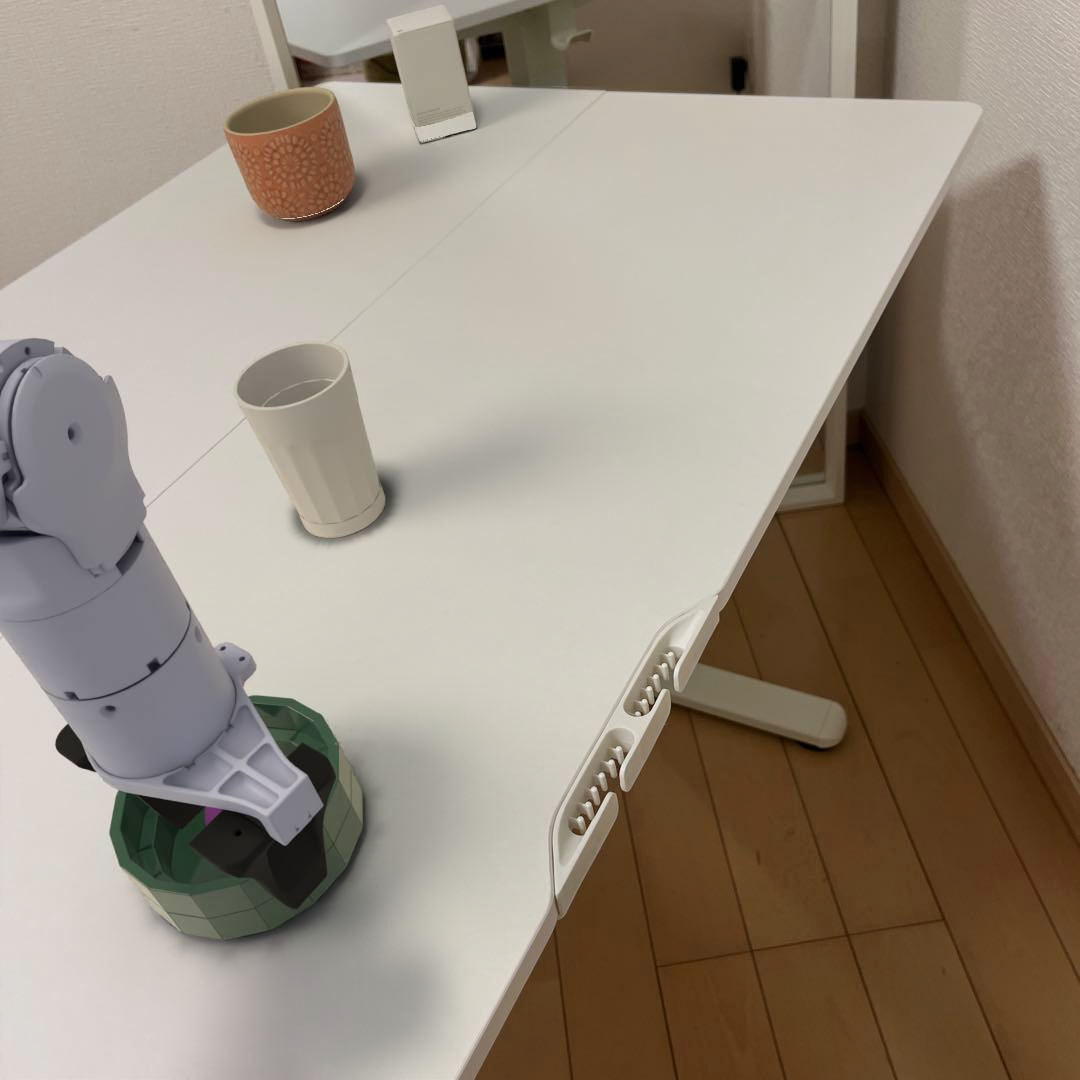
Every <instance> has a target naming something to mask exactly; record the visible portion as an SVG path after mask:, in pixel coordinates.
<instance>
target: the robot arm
mask: <svg viewBox="0 0 1080 1080" xmlns="http://www.w3.org/2000/svg"><path fill="white" fill-rule="evenodd" d="M128 435H129V434H128V423H127V418H126V414H125V409H124V404H123V401H122V398H121V395H120V392H119V390H118V387H117V384H116V382H115V380H114V378H113V376H112V375H110V374H109V375H108V374H107V375H105V376H104V378H103V376H101V375H100V374H99V373H98V372H97V371H96V370H95V369H94V368H93V367H92V366H91V365H90V364H89V363H87V362H86V361H84V360H83V359H81V358H79V357H78V356H76V355H74V354H73V353H72V352H71V351H70V350H69V349H68V348H66V347H64V346H55V341H52V340H49V339H46V338H38V337H30V338H13V339H1V340H0V634H1V636H2V637H3V638H4V639H5V641H6V642H7V644H8V645H9V646H10V647H11V649H12V650H13V652H14V653H15V654H16V656H17V657H18V658H19V660H20V661H21V662H22V664H23V665H24V667H25V668H26V669H27V670H28V672H29V673H30V674H31V676H32V677H33V679H34V680H35V681H36V682H37V684H38V685H39V687H40V688H41V690H42V691H43V692H44V694H45V695H46V697H47V698H48V699H49V700H50V702H51V703H52V704H53V707H55V708H56V710H57V711H58V712H59V714H60V715H61V716H62V718H63V719H64V720H65V722H66V723H67V724H65V726H63V727H62V729H60V730H59V733H58V734H57V736H56V739H55V741H54V742H55V743H54V746H55V749H56V751H57V752H58V754H60V755H61V756H62V757H64V758H65V759H66V760H68V761H69V762H71V763H72V764H74V766H76V767H77V768H80V769H82V770H86V771H88V772H89V771H90V772H92V773H95V774H97V775H98V777H100V778H101V780H102V781H103V782H104V783H105V784H107V786H110V787H111V788H113V789H116V790H119V791H123V792H127V793H132V794H135V795H136V796H137V797H138V798H140V799H141V800H142V801H143V802H144V803H145V804H147V805H148V806H149V807H150V808H151V809H153V810H154V811H155V812H156V813H158V814H159V815H160V816H162V817H163V818H164V819H166V820H167V821H169V822H170V823H171V824H173V825H174V826H176V827H178V828H180V829H183V828H184V827H185V826H186V825H187V824H188V823H189V822H190V821H191V820H192V819H193V818H195V817H196V816H197V815H198V814H199V813H200V812H201V811H202V810H203V809H204V808H205V807H206V806H207V807H213V808H219V809H223V810H222V811H221V812H220V813H219V814H218V815H217V816H216V817H215V818H214V819H213V820H212V821H211V822H210V823H209V824H208V825H207V826H206V827H205V828H204V829H203V830H202V831H201V832H200V833H199V834H198V835H197V836H196V837H195V838H194V839H193V840H192V841H191V842H190V843H189V846H190V847H191V849H192V850H193V851H194V852H196V853H197V854H198V855H200V856H201V857H203V858H204V859H205V860H207V861H208V862H209V863H211V864H212V865H214V866H215V867H216V868H218V869H219V870H221V871H223V872H225V873H227V874H230V875H232V876H235V877H237V878H251V879H254V880H255V881H256V882H257V883H258V884H259V885H260V886H261V887H262V888H263V889H264V890H266V891H267V892H268V893H269V894H270V895H272V896H273V897H274V898H276V899H277V900H278V901H280V902H281V903H283V904H284V905H286V906H287V907H289V908H291V909H293V910H295V909H298V908H299V907H300V906H301V905H302V903H303V902H304V901H305V900H306V899H307V898H308V897H309V896H310V895H311V893H312V892H313V891H314V890H315V889H316V888H317V887H318V886H319V884H320V883H321V882H322V881H323V880H324V879H325V878H326V877H327V862H326V853H325V845H324V835H323V822H324V814H325V809H326V805H327V802H328V798H329V795H330V792H331V790H332V787H333V785H334V782H335V780H336V774H335V771H334V769H333V766H332V764H331V763H330V761H329V759H328V758H327V757H326V756H325V755H323V754H321V753H320V752H318V751H316V750H315V749H313V748H311V747H310V746H308V745H306V744H304V743H303V742H302V743H301V744H300V745H299V746H298V747H297V748H296V749H295V750H294V751H293V752H292V753H291V754H290V755H289V756H288V757H287V758H286V757H285V755H284V754H283V753H282V751H281V750H280V748H279V747H278V745H277V744H276V742H275V740H274V739H273V737H272V735H271V734H270V732H269V730H268V729H267V727H266V725H265V724H264V722H263V720H262V719H261V717H260V715H259V714H258V712H257V710H256V709H255V707H254V705H253V704H252V702H251V700H250V699H249V697H248V696H249V695H248V694H247V692H246V690H245V683H246V682H247V681H248V680H249V679H250V678H251V677H252V676H253V675H254V673H255V672H256V671H257V663H256V662H255V659H254V657H253V655H252V654H251V653H250V652H249V651H247V650H246V649H244V648H241V647H240V646H238V645H236V644H234V643H232V642H228V641H225V642H220V643H218V644H217V645H215V646H214V645H213V644H212V641H211V640H210V638H209V636H208V635H207V633H206V631H205V630H204V628H203V626H202V624H201V622H200V620H199V619H198V617H197V615H196V614H195V612H194V610H193V608H192V606H191V605H190V603H189V601H188V599H187V598H186V596H185V594H184V592H183V590H182V589H181V586H180V585H179V583H178V581H177V579H176V577H175V576H174V574H173V572H172V571H171V568H170V567H169V565H168V564H167V562H166V560H165V558H164V556H163V554H162V553H161V551H160V549H159V547H158V545H157V544H156V542H155V540H154V539H153V537H152V535H151V534H150V532H149V530H148V528H147V526H146V524H145V522H144V521H145V520H146V517H147V513H148V512H147V507H146V505H145V503H144V499H145V497H146V493H145V492H144V489H143V488H142V486H141V484H140V482H139V480H138V478H137V477H136V475H135V472H134V470H133V466H132V464H131V459H130V454H129V453H130V452H129V436H128Z"/></svg>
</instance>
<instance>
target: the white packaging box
mask: <svg viewBox="0 0 1080 1080" xmlns="http://www.w3.org/2000/svg"><path fill="white" fill-rule="evenodd" d="M385 24H386V28H387V32H388V37H389V40H390V45H391V48H392V52H393V55H394V56H393V57H394V61H395V64H396V68H397V71H398V75H399V79H400V84H401V87H402V91H403V95H404V100H405V102H406V103H405V104H406V106H407V110H409V111H408V114H410V115H409V118H410V117H411V119H412V121H413V124H414V125H415V127H421V126H426V125H431V124H435V123H439V122H442V121H445V120H448V119H453V118H455V117H457V116H461V115H463V114H466V113H469V112H473V111H474V106H473V103H472V98H471V94H470V88H469V85H468V80H467V75H466V70H465V66H464V62H463V58H462V53H461V49H460V43H459V39H458V35H457V31H456V26H455V21H454V18H453V16H452V15H451V13H450V12H449V10H448V8H447V7H446V5H445V4H444V3H442V4H439V5H438V4H437V5H434V6H430V7H427V8H426V7H425V8H422V9H419V10H415V11H412V12H409V13H405V14H401V15H398V16H394V17H391V18H387V19H386V20H385ZM411 119H410V120H411ZM453 134H454V133H453ZM440 139H444V138H443V137H441V138H440V136H439V138H437V139H436V137H435V139H432V138H431V140H429V141H428V139H427V141H426V140H425V142H424V140H423V142H422V141H421V143H420V144H424V143H428V142H432V141H437V140H440Z"/></svg>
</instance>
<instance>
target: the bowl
mask: <svg viewBox="0 0 1080 1080" xmlns="http://www.w3.org/2000/svg"><path fill="white" fill-rule="evenodd" d="M248 697H249V699H250V700H251V702H252V704H253V705H254V707H255V709H256V710H257V712H258V714H259V715H260V717H261V719H262V720H263V722H264V724H265V725H266V727H267V729H268V730H269V732H270V734H271V735H272V737H273V739H274V740H275V742H276V744H277V745H278V747H279V748H280V750H281V751H282V753H283V754H284V755H285V757H286V758H287V757H288V756H289V755H290V754H291V753H292V752H293V751H294V750H295V749H296V748H297V747H298V746H299V745H300V744H301V743H302V742H303V743H304V744H306V745H308V746H310V747H311V748H313V749H315V750H316V751H318V752H320V753H321V754H323V755H325V756H326V757H327V758H328V759H329V761H330V763H331V764H332V766H333V769H334V771H335V774H336V780H335V782H334V785H333V787H332V790H331V792H330V795H329V798H328V802H327V805H326V809H325V814H324V822H323V835H324V845H325V853H326V862H327V877H326V878H325V879H324V880H323V881H322V882H321V883H320V884H319V886H318V887H317V888H316V889H315V890H314V891H313V892H312V893H311V895H310V896H309V897H308V898H307V899H306V900H305V901H304V902H303V903H302V905H301V906H300V907H299V908H298V909H295V910H293V909H291V908H289V907H287V906H286V905H284V904H283V903H281V902H280V901H278V900H277V899H276V898H274V897H273V896H272V895H270V894H269V893H268V892H267V891H266V890H264V889H263V888H262V887H261V886H260V885H259V884H258V883H257V882H256V881H255V880H254V879H251V878H237V877H235V876H232V875H230V874H227V873H225V872H223V871H221V870H219V869H218V868H216V867H215V866H214V865H212V864H211V863H209V862H208V861H207V860H205V859H204V858H203V857H201V856H200V855H198V854H197V853H196V852H194V851H193V850H192V849H191V847H190V846H189V843H190V842H191V841H192V840H193V839H194V838H195V837H196V836H197V835H198V834H199V833H200V832H201V831H202V830H203V829H204V828H205V827H206V824H205V808H206V807H205V808H204V809H203V810H202V811H201V812H200V813H199V814H198V815H197V816H196V817H195V818H193V819H192V820H191V821H190V822H189V823H188V824H187V825H186V826H185V827H184V828H183V829H180V828H178V827H176V826H174V825H173V824H171V823H170V822H169V821H167V820H166V819H164V818H163V817H162V816H160V815H159V814H158V813H156V812H155V811H154V810H153V809H151V808H150V807H149V806H148V805H147V804H145V803H144V802H143V801H142V800H141V799H140V798H138V797H137V796H136V795H135V794H132V793H127V792H123V791H119V790H118V791H117V792H116V795H115V797H114V804H113V808H112V814H111V819H110V826H109V830H108V835H109V838H110V842H111V845H112V847H113V850H114V853H115V856H116V860H117V862H118V866H119V867H120V869H121V870H122V872H123V873H124V874H125V875H126V877H127V878H128V879H129V880H130V882H132V884H133V885H134V886H135V887H136V889H137V890H138V891H139V893H140V894H141V895H142V896H143V898H145V900H146V901H147V902H148V904H149V905H150V906H151V907H152V909H153V910H154V911H155V912H156V913H157V914H158V915H159V916H161V917H162V918H163V919H164V920H166V921H167V922H168V923H169V924H171V925H172V926H173V927H174V928H175V929H177V931H179V932H181V933H183V934H187V935H191V936H192V935H193V936H198V937H203V938H209V939H215V940H222V941H224V940H225V941H228V940H231V939H232V940H233V939H236V938H241V937H245V936H249V935H250V936H251V935H253V934H258V933H262V932H263V933H264V932H266V931H270V930H274V929H275V928H277V927H279V926H280V925H282V924H283V923H285V922H287V921H289V920H290V919H291V918H293V917H295V916H297V915H298V914H300V913H302V912H303V911H305V910H307V909H308V908H310V907H312V906H313V905H314V904H315V903H317V901H318V900H319V899H320V898H321V896H322V895H323V894H324V893H325V892H326V891H327V890H328V889H329V887H330V886H331V885H332V884H333V883H334V881H336V880H337V878H339V876H340V875H341V873H343V872H344V870H345V869H346V868H347V867H348V864H349V862H350V860H351V857H352V855H353V851H354V850H355V847H356V846H357V843H358V840H359V838H360V835H361V833H362V832H363V831H362V830H363V826H364V822H363V820H364V818H363V817H364V816H363V790H362V787H361V785H360V783H359V781H358V779H357V777H356V775H355V773H354V771H353V769H352V767H351V765H350V763H349V761H348V759H347V757H346V754H345V753H344V751H343V749H342V747H341V745H340V743H339V741H338V739H337V738H336V736H335V734H334V732H333V730H332V729H331V727H330V725H329V724H328V722H327V720H326V719H325V717H324V715H323V714H321V713H319V712H317V711H316V710H314V709H312V708H311V707H309V706H307V705H305V704H303V703H302V702H300V701H299V700H296V699H294V698H291V697H283V696H282V697H281V696H272V695H271V696H270V695H259V694H252V695H248Z"/></svg>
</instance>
